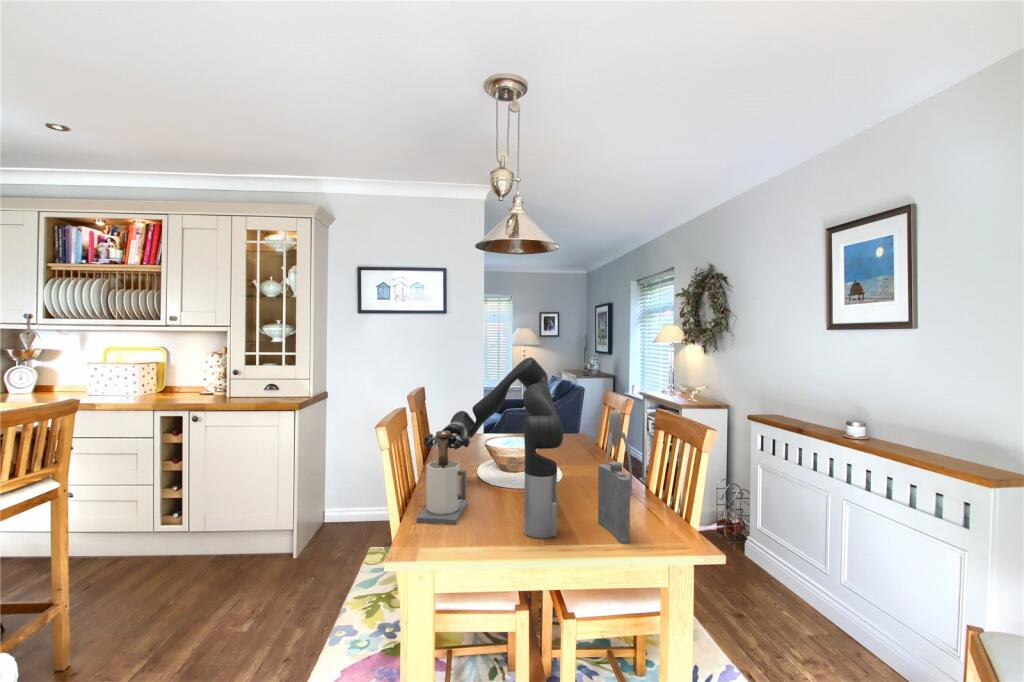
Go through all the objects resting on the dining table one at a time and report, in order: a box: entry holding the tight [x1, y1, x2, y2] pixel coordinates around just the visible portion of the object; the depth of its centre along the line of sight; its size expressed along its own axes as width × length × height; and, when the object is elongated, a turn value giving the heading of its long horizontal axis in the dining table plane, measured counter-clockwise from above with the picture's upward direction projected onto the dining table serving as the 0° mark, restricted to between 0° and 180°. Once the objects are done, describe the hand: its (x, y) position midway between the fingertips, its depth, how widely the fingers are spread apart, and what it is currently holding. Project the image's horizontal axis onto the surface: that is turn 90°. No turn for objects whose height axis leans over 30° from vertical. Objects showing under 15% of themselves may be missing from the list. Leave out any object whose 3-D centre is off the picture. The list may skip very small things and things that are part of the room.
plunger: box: [435, 430, 450, 469], centre depth 157 cm, size 8×8×23 cm
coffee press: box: [416, 459, 468, 525], centre depth 157 cm, size 13×16×16 cm
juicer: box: [605, 408, 633, 497], centre depth 175 cm, size 10×9×30 cm
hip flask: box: [597, 461, 631, 545], centre depth 144 cm, size 16×4×20 cm, turn 15°
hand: (441, 445), depth 155 cm, fingers open, 8 cm apart
